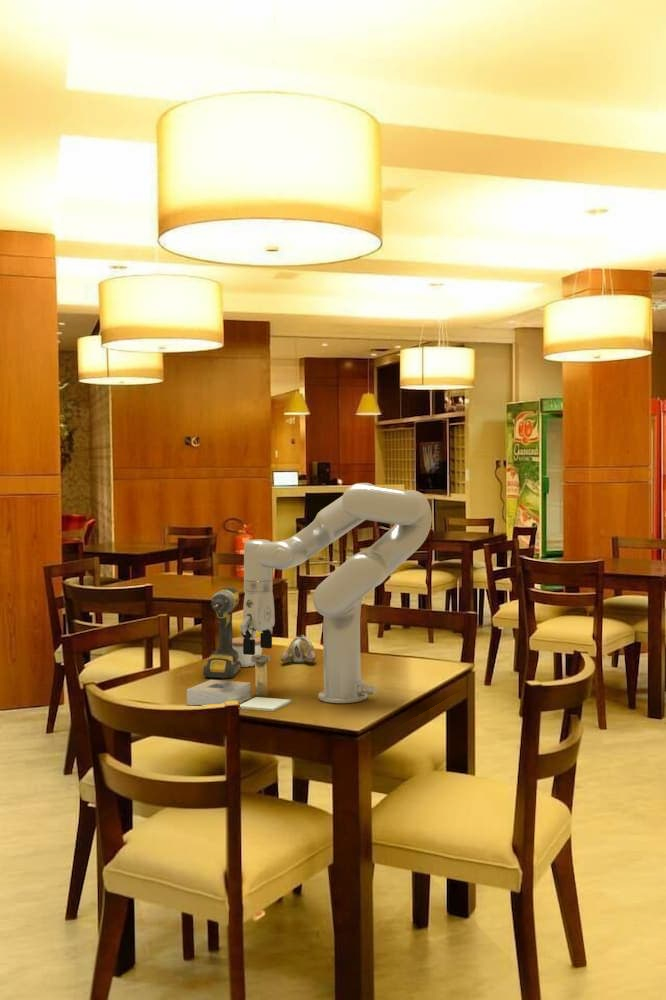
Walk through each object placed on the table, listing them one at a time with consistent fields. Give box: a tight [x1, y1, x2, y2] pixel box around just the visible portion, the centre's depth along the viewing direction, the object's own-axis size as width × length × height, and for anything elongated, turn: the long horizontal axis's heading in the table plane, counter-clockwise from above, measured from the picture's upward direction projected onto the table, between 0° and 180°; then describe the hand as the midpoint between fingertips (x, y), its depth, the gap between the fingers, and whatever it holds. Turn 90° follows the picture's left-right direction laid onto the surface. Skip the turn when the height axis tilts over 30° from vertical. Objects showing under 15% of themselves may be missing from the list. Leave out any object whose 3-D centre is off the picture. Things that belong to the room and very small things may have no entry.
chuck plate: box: [186, 679, 252, 706], centre depth 251 cm, size 12×12×4 cm
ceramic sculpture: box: [280, 634, 317, 664], centre depth 302 cm, size 11×9×15 cm
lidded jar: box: [232, 636, 263, 668], centre depth 298 cm, size 11×11×9 cm
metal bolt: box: [251, 654, 271, 697], centre depth 258 cm, size 5×5×10 cm
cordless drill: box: [202, 586, 242, 679], centre depth 282 cm, size 9×20×25 cm, turn 172°
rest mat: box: [239, 696, 292, 712], centre depth 246 cm, size 10×10×1 cm
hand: (257, 651), depth 258 cm, fingers open, 9 cm apart
